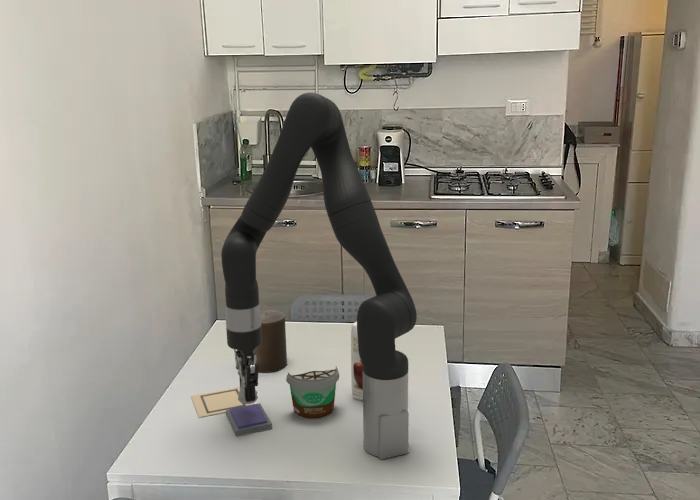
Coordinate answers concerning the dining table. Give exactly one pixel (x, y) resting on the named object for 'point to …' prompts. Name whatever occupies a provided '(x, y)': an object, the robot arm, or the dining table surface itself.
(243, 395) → the rook chess piece
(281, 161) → the robot arm
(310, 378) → the food container
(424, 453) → the dining table surface
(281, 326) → the pillar candle
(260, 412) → the ink pad
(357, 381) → the juice carton
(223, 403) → the marked card
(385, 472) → the dining table surface
